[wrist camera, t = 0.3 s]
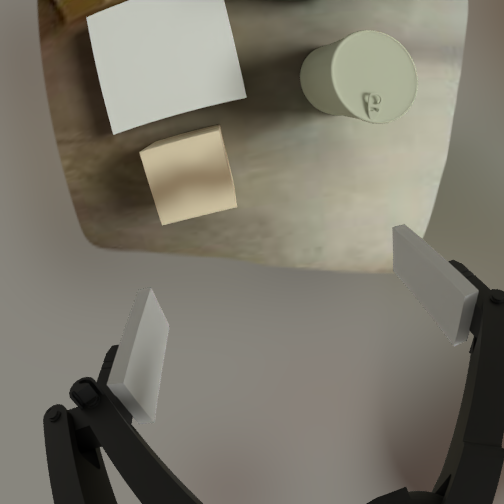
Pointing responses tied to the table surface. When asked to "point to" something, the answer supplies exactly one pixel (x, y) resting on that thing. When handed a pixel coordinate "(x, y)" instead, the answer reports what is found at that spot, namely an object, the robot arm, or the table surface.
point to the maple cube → (189, 174)
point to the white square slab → (163, 59)
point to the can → (361, 78)
